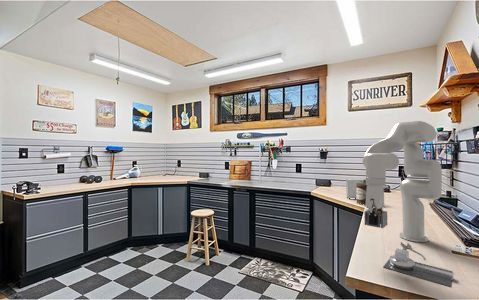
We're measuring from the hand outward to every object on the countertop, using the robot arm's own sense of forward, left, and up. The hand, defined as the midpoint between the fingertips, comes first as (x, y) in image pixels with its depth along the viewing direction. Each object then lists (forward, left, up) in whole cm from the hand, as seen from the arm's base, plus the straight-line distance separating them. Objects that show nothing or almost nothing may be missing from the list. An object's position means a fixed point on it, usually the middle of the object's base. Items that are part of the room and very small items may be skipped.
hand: (376, 222), depth 104 cm
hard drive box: (-141, -55, -16) cm, 152 cm away
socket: (0, 0, -1) cm, 1 cm away
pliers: (-20, +7, -16) cm, 27 cm away
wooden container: (-122, -40, -16) cm, 129 cm away
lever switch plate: (0, +15, -16) cm, 21 cm away
